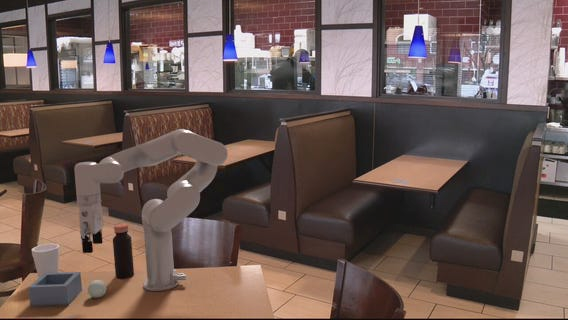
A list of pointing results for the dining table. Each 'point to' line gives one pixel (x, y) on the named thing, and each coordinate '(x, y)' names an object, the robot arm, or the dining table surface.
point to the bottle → (123, 252)
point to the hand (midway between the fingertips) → (93, 247)
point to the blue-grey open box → (55, 289)
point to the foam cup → (46, 258)
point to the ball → (97, 288)
